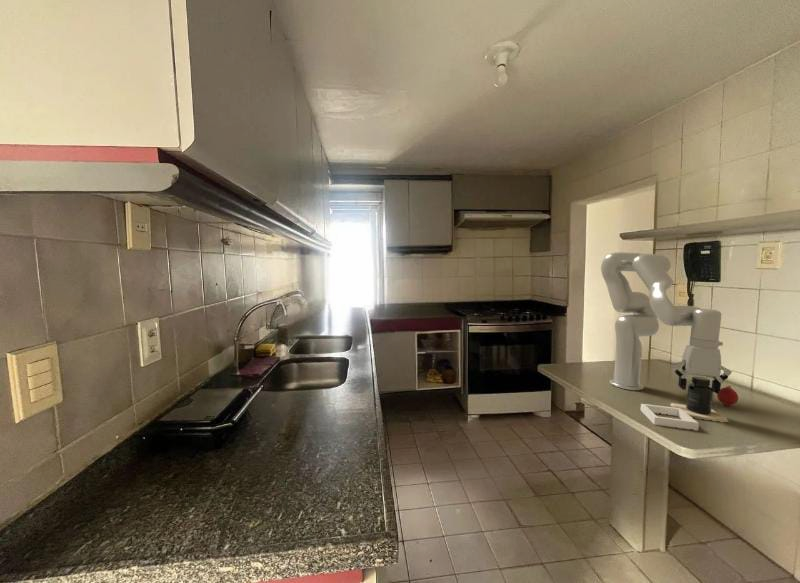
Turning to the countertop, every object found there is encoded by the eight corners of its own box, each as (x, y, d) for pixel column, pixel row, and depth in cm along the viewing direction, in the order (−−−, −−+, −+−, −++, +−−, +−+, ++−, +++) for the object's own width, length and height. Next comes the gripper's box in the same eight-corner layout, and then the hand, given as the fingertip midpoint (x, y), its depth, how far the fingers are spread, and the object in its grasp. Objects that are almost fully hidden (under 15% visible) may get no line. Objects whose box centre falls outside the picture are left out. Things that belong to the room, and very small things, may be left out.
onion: (732, 410, 126) (734, 389, 125) (713, 404, 131) (714, 384, 130) (740, 407, 128) (742, 387, 127) (721, 402, 133) (722, 382, 133)
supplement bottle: (715, 416, 118) (719, 382, 117) (693, 413, 119) (696, 380, 118) (702, 408, 124) (705, 376, 123) (681, 406, 126) (684, 374, 125)
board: (670, 405, 129) (670, 402, 128) (709, 410, 125) (709, 407, 125) (685, 417, 118) (685, 414, 118) (727, 422, 115) (728, 420, 114)
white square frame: (640, 410, 123) (641, 403, 123) (679, 415, 120) (680, 408, 120) (654, 424, 112) (654, 417, 112) (698, 430, 108) (698, 423, 108)
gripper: (727, 343, 121) (721, 390, 122) (669, 339, 126) (665, 383, 127) (741, 348, 114) (735, 397, 115) (679, 343, 119) (674, 390, 120)
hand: (698, 390), depth 121 cm, fingers open, 9 cm apart
